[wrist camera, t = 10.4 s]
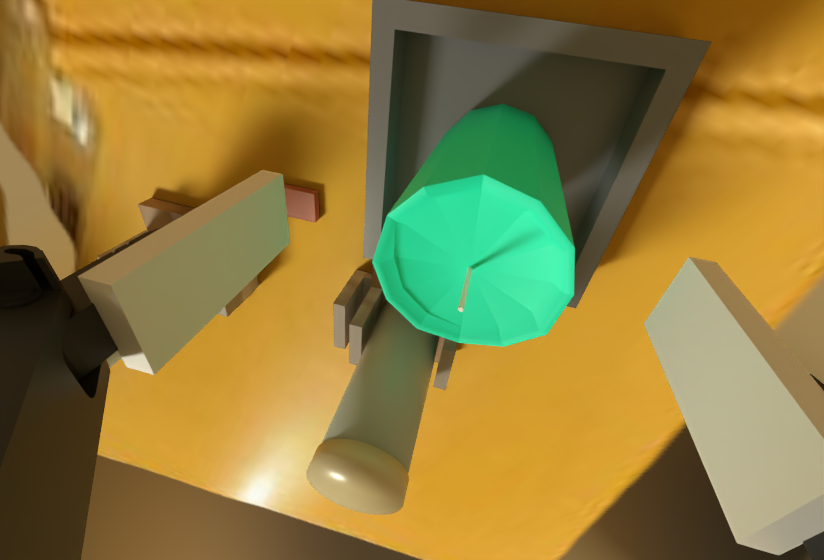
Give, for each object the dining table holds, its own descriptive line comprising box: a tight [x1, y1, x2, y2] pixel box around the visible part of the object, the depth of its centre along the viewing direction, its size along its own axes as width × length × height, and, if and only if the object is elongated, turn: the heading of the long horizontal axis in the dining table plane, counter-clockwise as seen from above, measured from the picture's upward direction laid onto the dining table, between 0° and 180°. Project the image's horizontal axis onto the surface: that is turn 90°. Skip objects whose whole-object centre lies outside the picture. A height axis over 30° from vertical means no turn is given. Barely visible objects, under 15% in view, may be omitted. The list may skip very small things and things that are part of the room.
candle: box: [372, 104, 575, 346], centre depth 14 cm, size 6×6×12 cm
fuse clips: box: [97, 184, 457, 390], centre depth 25 cm, size 25×12×5 cm, turn 84°
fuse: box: [307, 301, 440, 515], centre depth 21 cm, size 5×5×12 cm
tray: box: [363, 0, 711, 308], centre depth 19 cm, size 13×13×3 cm
